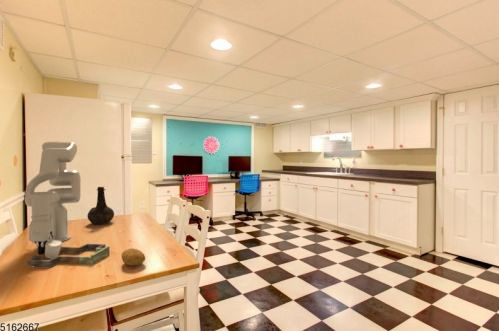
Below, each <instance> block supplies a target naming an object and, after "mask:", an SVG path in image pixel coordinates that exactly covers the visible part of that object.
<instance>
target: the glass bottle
mask: <svg viewBox="0 0 499 331" xmlns="http://www.w3.org/2000/svg"><path fill="white" fill-rule="evenodd" d="M106 189H107V188H106ZM106 189H105V187H104V186H98V187H97V189H96V191H97V199H96V201H97V202H96V206H95V207H92V208H91V209H89V211H88V213H87V220H88V221H89V222H90V223H91V224H93V225H97V226H99V225H106V224H109V223H110V222H111V221H112V220H113V219H114V217H115V211H114V210H113V209H112V208H111V207H109V206H108V205H107V200H106V197H105V190H106Z"/></svg>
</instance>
